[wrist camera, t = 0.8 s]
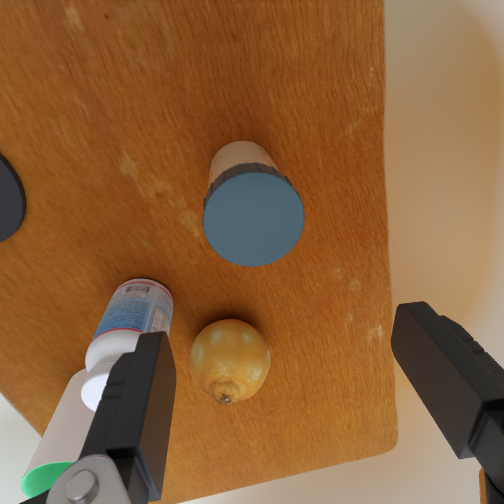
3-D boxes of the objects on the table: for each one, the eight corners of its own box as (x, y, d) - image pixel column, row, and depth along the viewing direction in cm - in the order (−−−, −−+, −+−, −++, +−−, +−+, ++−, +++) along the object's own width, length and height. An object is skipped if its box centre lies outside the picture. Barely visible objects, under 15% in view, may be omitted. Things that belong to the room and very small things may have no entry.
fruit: (176, 380, 36) (214, 436, 30) (175, 318, 32) (217, 366, 27) (238, 353, 40) (281, 397, 35) (242, 296, 37) (290, 334, 31)
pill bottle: (104, 311, 33) (56, 410, 23) (127, 266, 31) (85, 354, 21) (159, 332, 35) (137, 431, 25) (185, 291, 33) (171, 383, 23)
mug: (163, 421, 42) (148, 516, 33) (104, 436, 43) (74, 534, 34) (121, 358, 37) (90, 452, 27) (54, 376, 37) (0, 475, 28)
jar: (205, 143, 27) (198, 177, 18) (273, 137, 27) (300, 167, 18) (213, 208, 29) (212, 265, 20) (275, 202, 29) (300, 255, 21)
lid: (196, 166, 19) (193, 177, 17) (297, 157, 20) (306, 166, 18) (209, 254, 22) (209, 272, 20) (297, 244, 22) (305, 261, 20)
